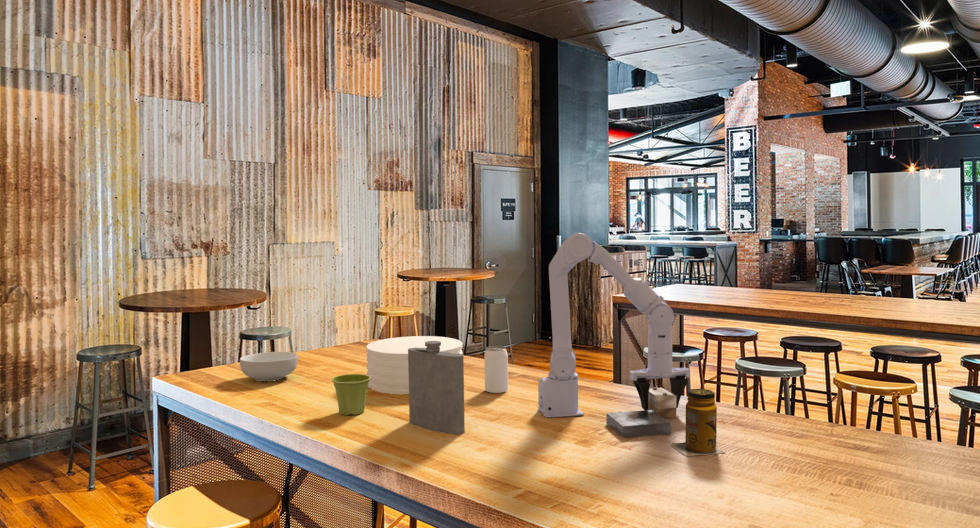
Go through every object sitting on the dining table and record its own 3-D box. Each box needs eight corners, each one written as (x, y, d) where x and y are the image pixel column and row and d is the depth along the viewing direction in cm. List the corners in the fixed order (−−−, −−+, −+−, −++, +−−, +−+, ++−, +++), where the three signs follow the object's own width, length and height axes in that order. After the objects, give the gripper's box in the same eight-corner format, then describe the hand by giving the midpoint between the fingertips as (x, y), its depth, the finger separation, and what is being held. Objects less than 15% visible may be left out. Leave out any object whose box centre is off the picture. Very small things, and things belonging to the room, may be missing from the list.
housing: (658, 420, 154) (658, 395, 154) (643, 411, 162) (644, 387, 161) (676, 419, 155) (676, 394, 154) (661, 409, 163) (661, 386, 162)
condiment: (725, 453, 132) (725, 394, 131) (686, 457, 130) (687, 397, 129) (705, 441, 139) (705, 385, 138) (668, 445, 137) (669, 388, 136)
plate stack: (481, 384, 190) (480, 345, 189) (393, 400, 174) (392, 358, 174) (433, 367, 213) (433, 333, 213) (352, 380, 198) (351, 342, 197)
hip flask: (467, 431, 147) (466, 343, 146) (455, 436, 144) (454, 346, 143) (416, 419, 157) (414, 336, 156) (404, 423, 154) (402, 339, 152)
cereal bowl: (310, 376, 203) (309, 353, 202) (265, 388, 189) (264, 364, 188) (273, 370, 212) (272, 348, 212) (228, 381, 198) (227, 358, 198)
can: (505, 394, 179) (505, 350, 178) (482, 393, 180) (482, 350, 179) (510, 388, 185) (509, 346, 184) (487, 387, 186) (486, 345, 186)
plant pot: (353, 405, 170) (352, 372, 170) (379, 410, 165) (378, 376, 164) (324, 413, 163) (323, 379, 162) (351, 420, 157) (350, 384, 157)
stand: (623, 437, 142) (622, 426, 142) (606, 423, 152) (606, 413, 151) (670, 433, 144) (670, 422, 144) (651, 420, 154) (651, 410, 153)
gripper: (638, 356, 152) (638, 414, 153) (696, 353, 155) (695, 410, 155) (626, 351, 159) (626, 406, 160) (682, 348, 162) (681, 402, 162)
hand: (659, 407), depth 158 cm, fingers open, 7 cm apart
